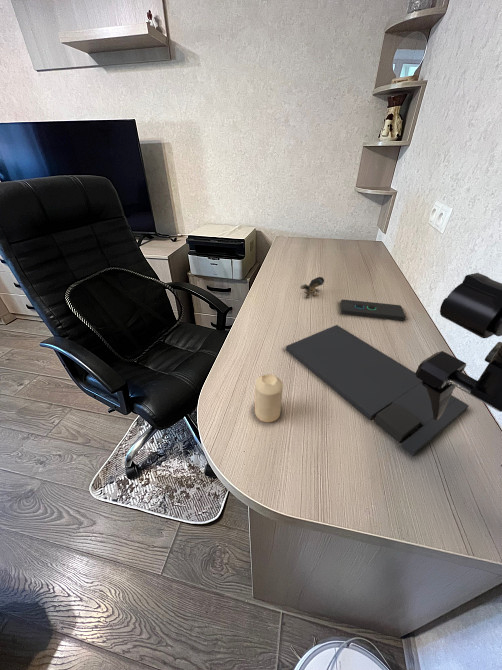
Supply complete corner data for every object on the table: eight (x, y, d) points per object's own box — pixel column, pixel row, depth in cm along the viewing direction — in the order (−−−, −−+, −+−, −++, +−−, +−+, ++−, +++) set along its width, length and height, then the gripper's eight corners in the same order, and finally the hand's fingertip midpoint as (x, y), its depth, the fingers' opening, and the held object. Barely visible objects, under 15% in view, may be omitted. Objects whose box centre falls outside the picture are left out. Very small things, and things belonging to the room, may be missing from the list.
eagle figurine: (321, 298, 101) (328, 285, 106) (312, 282, 98) (319, 269, 103) (304, 303, 106) (311, 290, 112) (294, 288, 103) (302, 276, 109)
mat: (466, 410, 61) (469, 405, 60) (412, 456, 52) (415, 451, 51) (336, 328, 87) (336, 324, 86) (285, 350, 78) (286, 345, 77)
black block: (417, 429, 57) (421, 421, 55) (399, 443, 54) (403, 435, 53) (391, 409, 61) (394, 401, 59) (373, 421, 58) (376, 413, 57)
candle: (271, 427, 57) (273, 393, 51) (249, 414, 60) (249, 380, 54) (285, 410, 61) (288, 377, 55) (264, 398, 63) (265, 365, 58)
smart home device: (341, 298, 100) (400, 304, 96) (340, 302, 101) (399, 308, 97) (342, 309, 93) (406, 316, 89) (341, 314, 94) (404, 321, 90)
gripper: (667, 381, 29) (569, 462, 38) (474, 307, 42) (434, 381, 51) (645, 430, 24) (538, 510, 33) (433, 329, 37) (398, 407, 46)
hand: (467, 440), depth 41 cm, fingers open, 9 cm apart
